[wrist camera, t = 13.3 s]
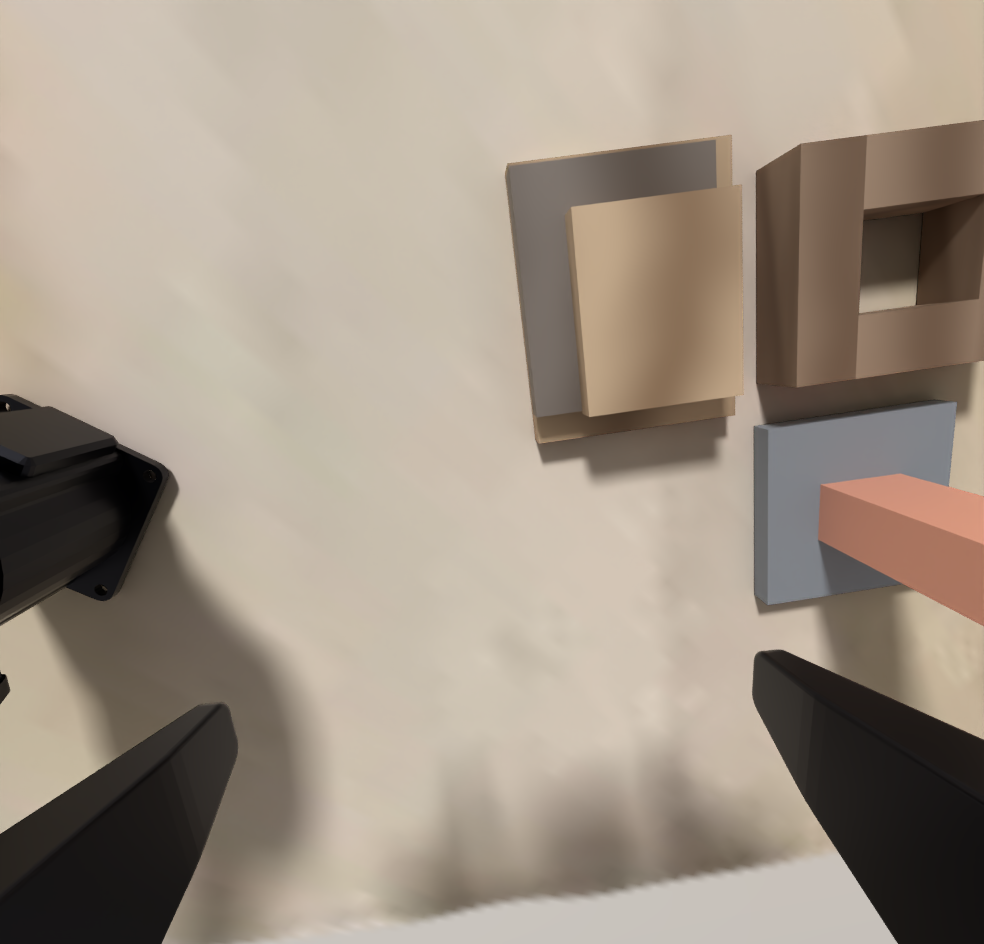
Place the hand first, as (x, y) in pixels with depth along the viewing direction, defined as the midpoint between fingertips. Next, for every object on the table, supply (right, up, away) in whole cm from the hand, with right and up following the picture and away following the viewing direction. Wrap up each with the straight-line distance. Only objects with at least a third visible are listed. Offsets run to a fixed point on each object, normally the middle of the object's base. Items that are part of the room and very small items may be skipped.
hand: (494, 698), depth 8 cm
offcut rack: (+10, +11, +11) cm, 19 cm away
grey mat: (+16, +3, +14) cm, 21 cm away
